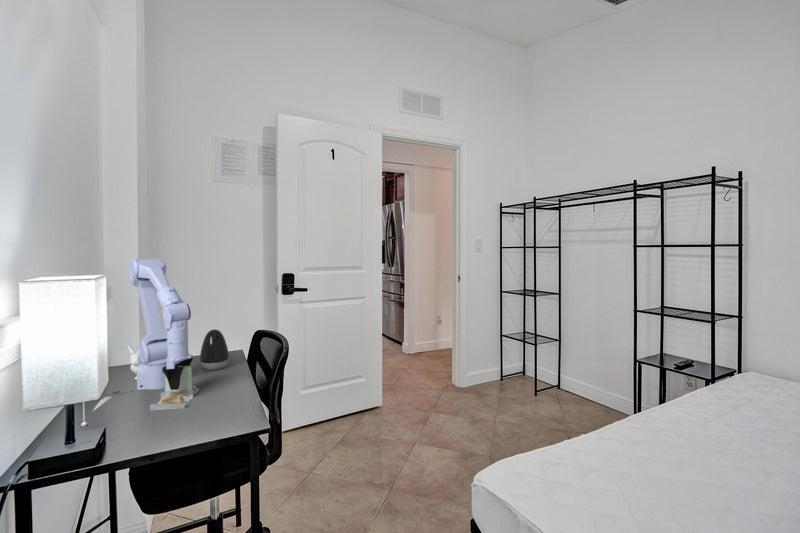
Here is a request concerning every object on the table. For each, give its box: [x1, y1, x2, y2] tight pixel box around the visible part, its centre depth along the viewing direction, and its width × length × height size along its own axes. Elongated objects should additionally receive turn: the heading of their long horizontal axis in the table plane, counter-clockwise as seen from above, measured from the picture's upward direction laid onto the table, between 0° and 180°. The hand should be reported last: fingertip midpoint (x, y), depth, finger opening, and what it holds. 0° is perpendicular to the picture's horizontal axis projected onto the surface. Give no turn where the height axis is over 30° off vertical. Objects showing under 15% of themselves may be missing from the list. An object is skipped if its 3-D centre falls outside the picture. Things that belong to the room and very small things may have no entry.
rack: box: [149, 385, 200, 411], centre depth 126 cm, size 9×16×3 cm, turn 12°
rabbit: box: [127, 345, 143, 380], centre depth 149 cm, size 12×9×12 cm
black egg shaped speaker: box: [199, 328, 230, 371], centre depth 159 cm, size 10×10×15 cm
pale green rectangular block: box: [164, 365, 193, 392], centre depth 128 cm, size 7×2×9 cm, turn 102°
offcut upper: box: [160, 395, 182, 403], centre depth 121 cm, size 5×2×1 cm, turn 102°
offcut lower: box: [157, 398, 184, 404], centre depth 121 cm, size 6×3×1 cm, turn 102°
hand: (178, 385), depth 128 cm, fingers open, 7 cm apart
